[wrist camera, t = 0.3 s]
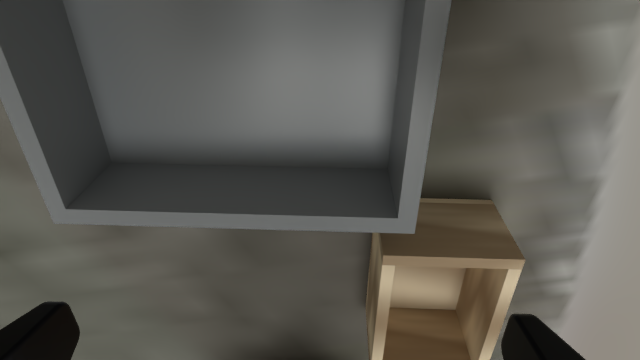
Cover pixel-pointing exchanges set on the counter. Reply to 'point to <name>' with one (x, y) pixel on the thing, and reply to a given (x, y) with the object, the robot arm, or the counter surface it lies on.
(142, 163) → the charcoal crate
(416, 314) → the birch crate
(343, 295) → the counter surface
